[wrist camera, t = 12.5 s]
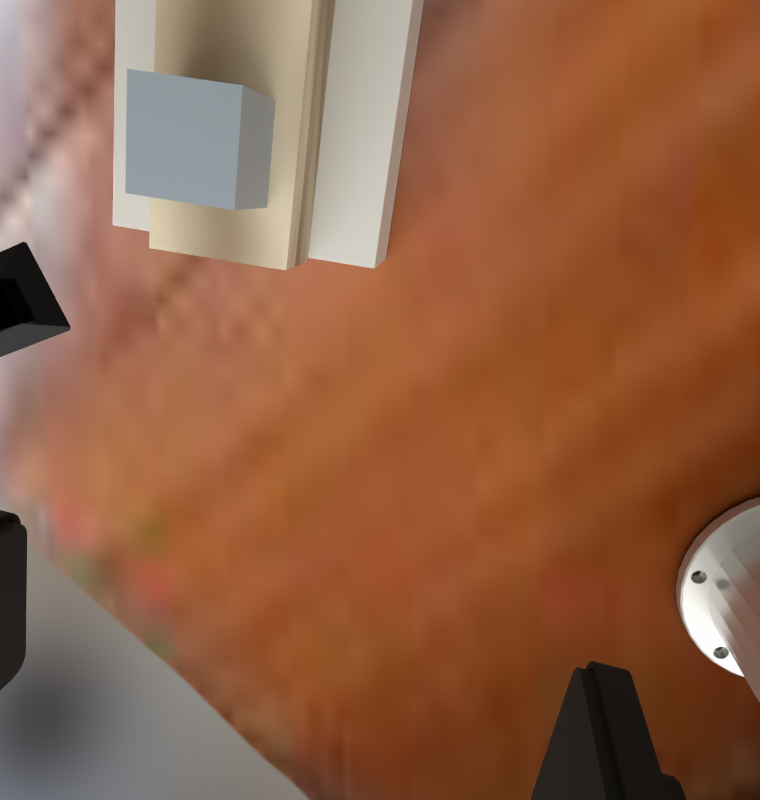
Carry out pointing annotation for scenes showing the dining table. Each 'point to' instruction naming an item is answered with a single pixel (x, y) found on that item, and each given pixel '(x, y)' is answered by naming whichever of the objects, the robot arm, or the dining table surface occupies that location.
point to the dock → (341, 128)
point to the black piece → (26, 302)
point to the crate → (198, 141)
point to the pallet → (293, 123)
